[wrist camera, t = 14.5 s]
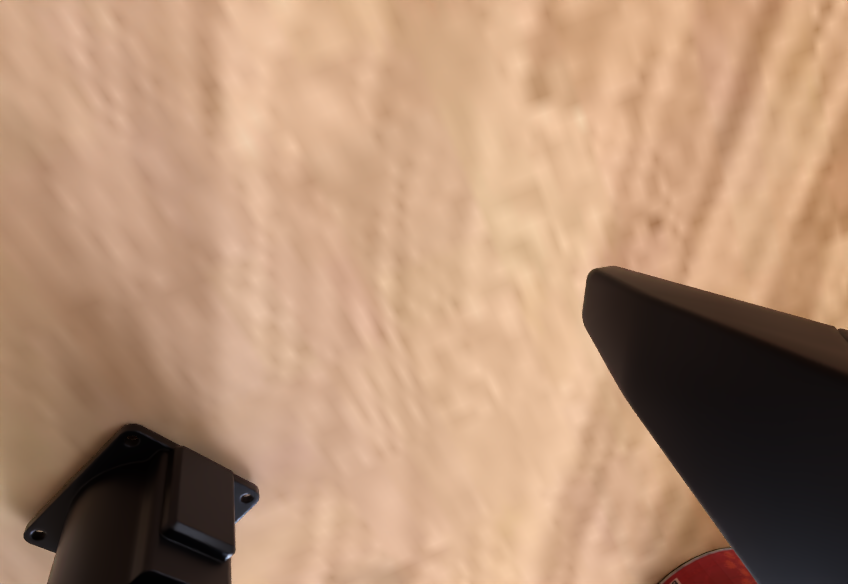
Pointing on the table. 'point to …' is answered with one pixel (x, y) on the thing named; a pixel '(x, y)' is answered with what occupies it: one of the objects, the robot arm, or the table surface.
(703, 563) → the canned food
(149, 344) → the table surface
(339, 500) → the table surface
